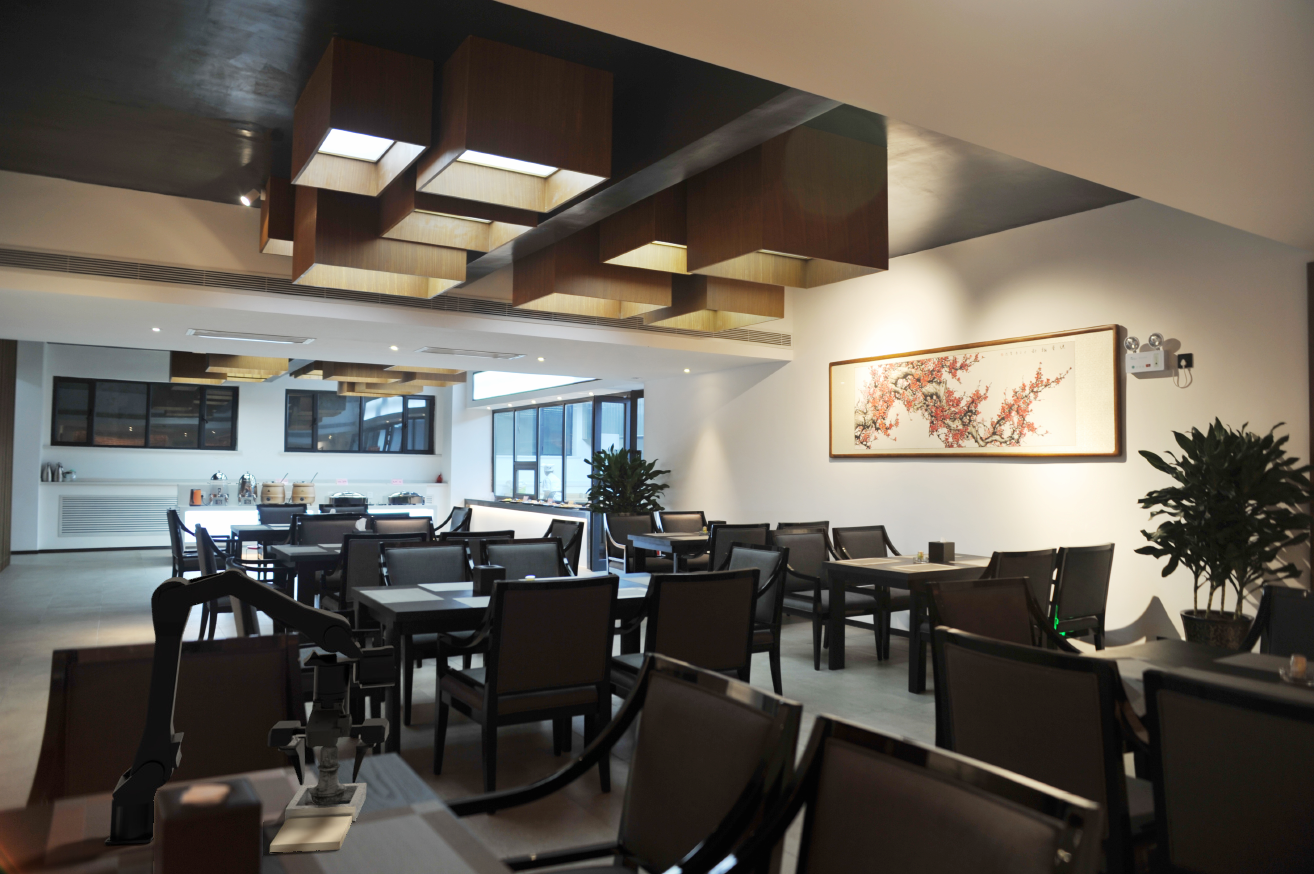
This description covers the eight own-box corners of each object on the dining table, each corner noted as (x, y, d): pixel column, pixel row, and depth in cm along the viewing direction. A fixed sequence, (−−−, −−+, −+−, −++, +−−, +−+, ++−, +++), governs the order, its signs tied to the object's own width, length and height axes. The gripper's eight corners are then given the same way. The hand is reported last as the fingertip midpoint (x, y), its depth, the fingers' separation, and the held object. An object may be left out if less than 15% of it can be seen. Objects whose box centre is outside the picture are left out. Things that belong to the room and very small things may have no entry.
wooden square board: (269, 852, 127) (270, 844, 128) (286, 826, 137) (287, 818, 137) (339, 849, 129) (339, 841, 129) (351, 822, 139) (351, 815, 139)
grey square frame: (284, 824, 138) (285, 809, 138) (300, 799, 148) (301, 785, 149) (355, 821, 140) (355, 805, 140) (366, 797, 150) (366, 782, 150)
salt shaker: (332, 818, 141) (335, 745, 141) (301, 815, 142) (304, 742, 142) (352, 805, 146) (355, 734, 147) (321, 802, 148) (324, 732, 148)
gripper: (259, 703, 136) (255, 803, 135) (381, 700, 139) (378, 798, 138) (278, 687, 147) (274, 779, 146) (390, 684, 150) (387, 774, 149)
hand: (328, 783), depth 144 cm, fingers open, 8 cm apart
